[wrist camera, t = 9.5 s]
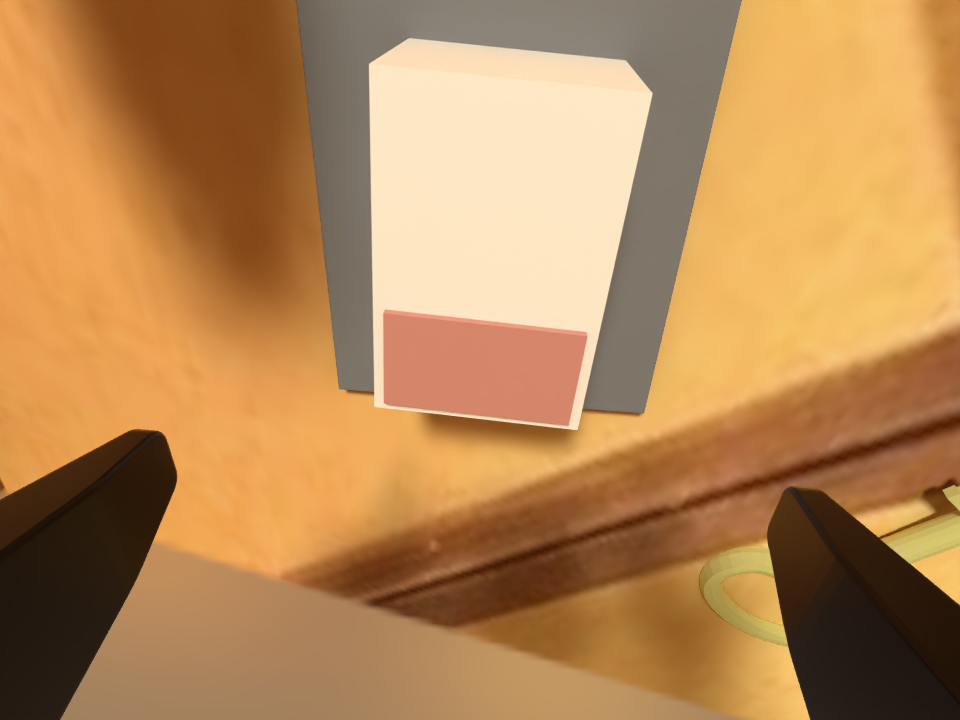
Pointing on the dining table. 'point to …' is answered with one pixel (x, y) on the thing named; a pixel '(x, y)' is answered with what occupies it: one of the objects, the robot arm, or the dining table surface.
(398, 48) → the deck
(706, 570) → the key
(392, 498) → the dining table surface
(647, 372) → the mat
